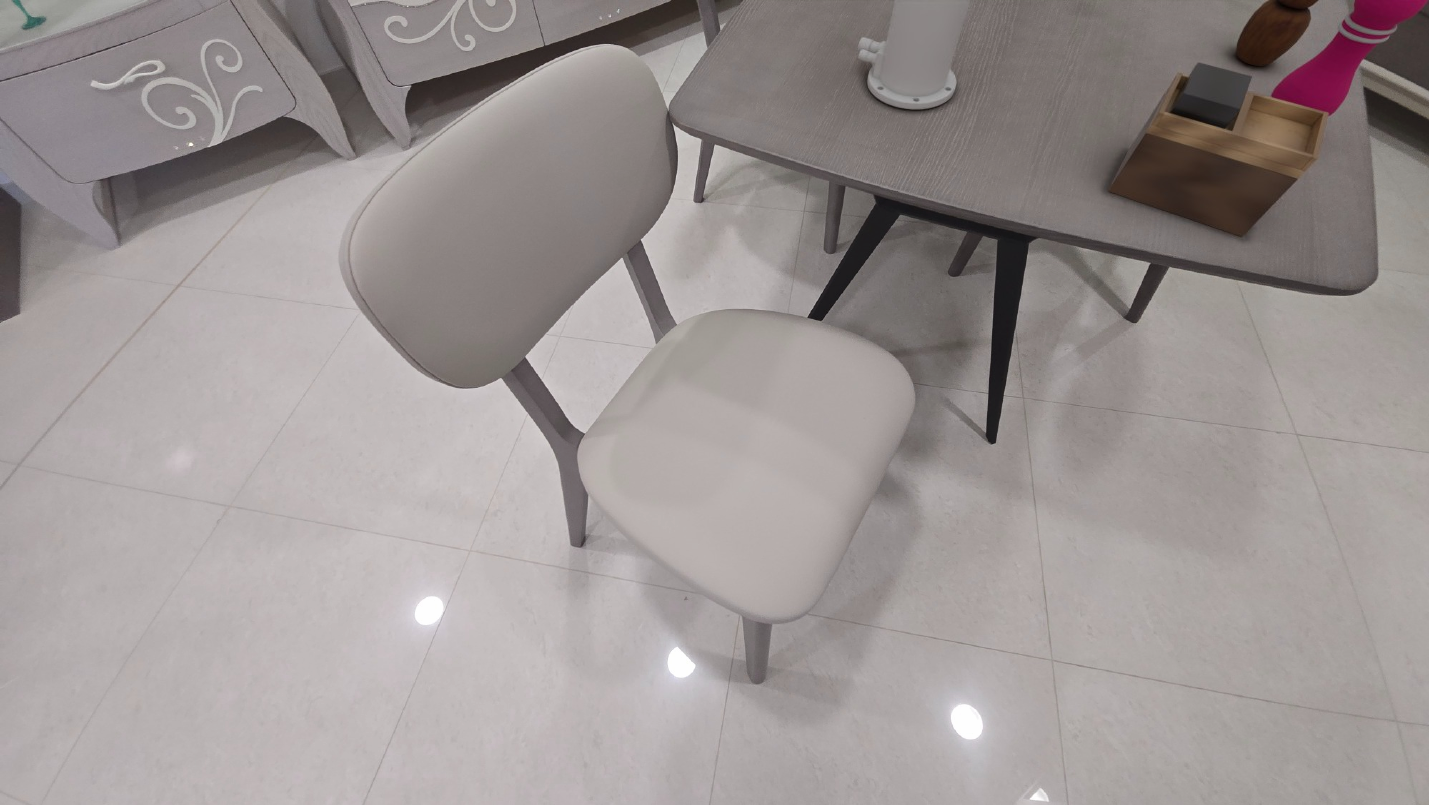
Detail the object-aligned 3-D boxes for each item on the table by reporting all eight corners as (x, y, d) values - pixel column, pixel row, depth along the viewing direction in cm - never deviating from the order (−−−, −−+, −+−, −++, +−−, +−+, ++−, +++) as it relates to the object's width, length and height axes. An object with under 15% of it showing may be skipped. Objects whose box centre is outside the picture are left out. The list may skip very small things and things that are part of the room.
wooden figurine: (1218, 52, 89) (1299, -67, 76) (1247, 43, 90) (1332, -76, 77) (1255, 75, 85) (1346, -46, 73) (1285, 66, 86) (1381, -55, 74)
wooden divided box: (1107, 191, 74) (1170, 94, 63) (1127, 151, 77) (1189, 54, 67) (1242, 237, 69) (1335, 140, 58) (1256, 192, 73) (1345, 94, 62)
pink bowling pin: (1257, 106, 82) (1395, -68, 65) (1316, 124, 79) (1476, -51, 62) (1242, 131, 79) (1382, -43, 62) (1303, 152, 76) (1466, -24, 59)
